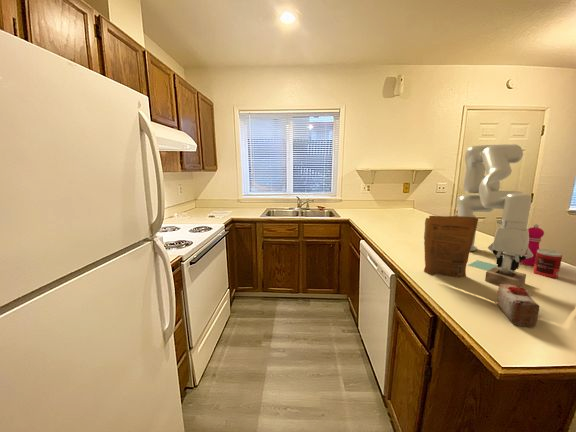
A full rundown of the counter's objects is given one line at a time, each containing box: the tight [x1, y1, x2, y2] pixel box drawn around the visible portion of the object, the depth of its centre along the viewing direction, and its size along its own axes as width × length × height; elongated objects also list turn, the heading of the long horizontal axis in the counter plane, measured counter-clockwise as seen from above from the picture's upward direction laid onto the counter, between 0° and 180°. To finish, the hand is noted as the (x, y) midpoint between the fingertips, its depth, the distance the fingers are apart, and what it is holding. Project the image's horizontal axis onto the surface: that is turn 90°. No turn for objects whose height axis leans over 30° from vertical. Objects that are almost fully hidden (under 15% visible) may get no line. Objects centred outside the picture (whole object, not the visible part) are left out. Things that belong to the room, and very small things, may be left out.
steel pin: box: [499, 252, 515, 277], centre depth 101 cm, size 4×4×12 cm
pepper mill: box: [520, 223, 545, 267], centre depth 120 cm, size 7×7×20 cm
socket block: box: [484, 266, 527, 288], centre depth 102 cm, size 10×10×5 cm
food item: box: [496, 284, 541, 329], centre depth 81 cm, size 14×8×10 cm, turn 159°
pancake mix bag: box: [423, 215, 479, 278], centre depth 109 cm, size 7×19×28 cm, turn 61°
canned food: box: [532, 248, 563, 280], centre depth 108 cm, size 8×8×11 cm
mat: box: [467, 259, 498, 272], centre depth 118 cm, size 11×11×1 cm
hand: (506, 267), depth 101 cm, fingers closed on steel pin, 4 cm apart
